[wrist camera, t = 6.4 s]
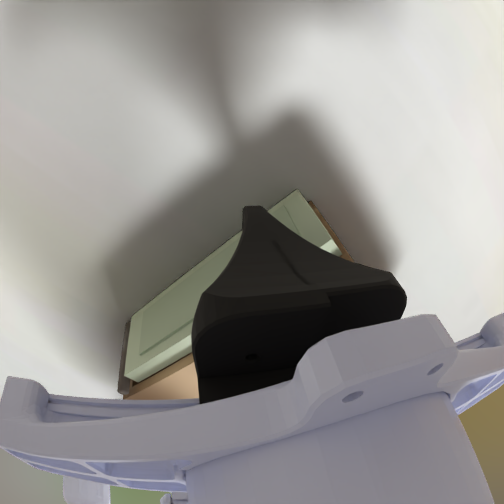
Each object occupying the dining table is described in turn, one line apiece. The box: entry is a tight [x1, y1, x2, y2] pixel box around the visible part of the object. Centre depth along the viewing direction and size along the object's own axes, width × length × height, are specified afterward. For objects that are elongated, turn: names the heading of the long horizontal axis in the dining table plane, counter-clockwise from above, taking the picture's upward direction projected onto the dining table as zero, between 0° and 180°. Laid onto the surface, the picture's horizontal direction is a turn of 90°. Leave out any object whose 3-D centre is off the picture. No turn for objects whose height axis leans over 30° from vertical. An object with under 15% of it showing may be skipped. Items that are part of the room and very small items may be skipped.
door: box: [124, 189, 342, 382], centre depth 15 cm, size 13×1×5 cm, turn 128°
